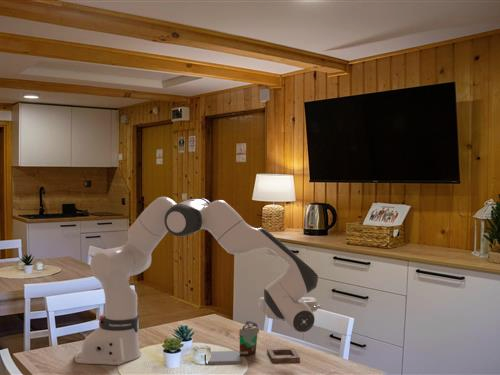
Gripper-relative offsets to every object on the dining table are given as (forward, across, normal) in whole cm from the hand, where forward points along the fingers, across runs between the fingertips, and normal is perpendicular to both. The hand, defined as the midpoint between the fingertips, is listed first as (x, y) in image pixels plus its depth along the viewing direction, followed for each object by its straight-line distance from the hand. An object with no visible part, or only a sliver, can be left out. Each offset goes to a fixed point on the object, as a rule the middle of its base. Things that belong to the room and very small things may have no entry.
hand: (283, 298), depth 185 cm
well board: (-1, 0, +21) cm, 21 cm away
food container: (+5, +11, +21) cm, 24 cm away
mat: (-1, +22, +21) cm, 30 cm away
